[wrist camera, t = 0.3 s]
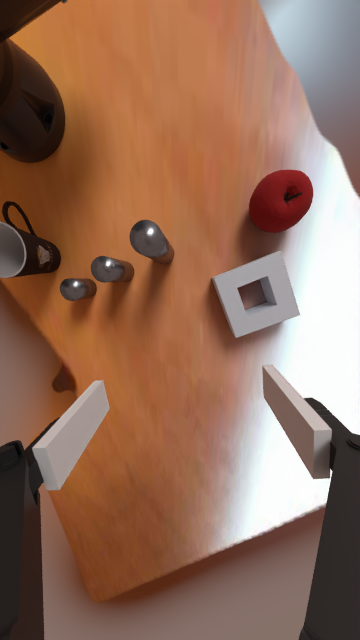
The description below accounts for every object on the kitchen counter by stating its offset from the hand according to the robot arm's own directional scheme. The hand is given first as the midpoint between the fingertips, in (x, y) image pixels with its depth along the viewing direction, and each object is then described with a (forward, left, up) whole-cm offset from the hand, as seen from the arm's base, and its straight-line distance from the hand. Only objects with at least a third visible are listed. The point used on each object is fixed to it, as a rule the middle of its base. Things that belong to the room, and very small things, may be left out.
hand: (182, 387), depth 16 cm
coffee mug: (-24, -21, -27) cm, 42 cm away
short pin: (-14, -17, -27) cm, 35 cm away
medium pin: (-14, -8, -27) cm, 31 cm away
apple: (-14, +22, -27) cm, 37 cm away
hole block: (0, +14, -27) cm, 30 cm away
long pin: (-14, +1, -27) cm, 30 cm away
